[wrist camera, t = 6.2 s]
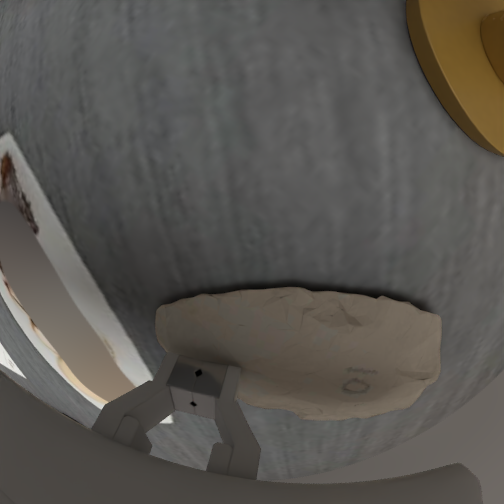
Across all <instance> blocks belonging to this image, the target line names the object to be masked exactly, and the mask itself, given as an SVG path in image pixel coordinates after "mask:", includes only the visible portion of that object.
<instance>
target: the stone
mask: <svg viewBox="0 0 504 504" xmlns="http://www.w3.org/2000/svg"><path fill="white" fill-rule="evenodd" d="M280 297H281V298H280ZM155 329H156V336H157V341H158V343H159V344H160V345H161V346H162V347H163V348H164V349H165V351H166V353H168V352H173V353H176V354H180V355H184V356H188V357H191V358H195V359H199V360H203V361H204V360H205V361H210V362H215V363H220V364H226V365H229V366H235V367H241V368H242V370H241V378H240V385H239V391H238V397H237V398H239V399H241V400H242V401H244V402H245V403H246V404H248V405H252V406H256V407H260V408H264V409H285V410H290V411H293V412H294V413H295V414H296V415H297V416H298V417H299V418H300V419H303V420H336V421H340V420H345V419H348V418H354V417H356V418H369V417H373V416H376V415H380V414H384V413H386V412H389V411H393V410H401V409H402V410H403V409H405V408H409V407H410V406H411V405H412V404H413V403H414V402H415V401H416V400H417V399H418V398H419V396H420V395H421V394H422V392H423V391H424V390H425V388H426V387H427V386H428V385H430V384H432V383H433V382H435V381H437V378H438V376H439V374H440V372H441V368H440V364H441V360H440V345H441V335H442V327H441V318H440V317H439V315H436V314H432V313H429V312H426V311H421V310H419V309H418V308H416V307H415V306H413V305H412V304H411V303H410V302H409V301H408V302H403V301H396V300H392V299H390V298H388V297H385V296H383V295H382V296H380V297H379V298H377V299H375V298H372V297H369V296H365V295H359V294H349V293H340V292H334V291H309V290H307V289H304V288H301V287H282V288H272V289H262V290H248V289H240V290H238V291H233V292H228V293H223V294H200V295H197V296H195V297H193V298H186V299H180V300H178V301H176V302H174V303H171V304H163V305H161V306H160V307H159V308H158V309H157V310H156V318H155Z"/></svg>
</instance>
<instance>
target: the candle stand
mask: <svg viewBox="0 0 504 504" xmlns="http://www.w3.org/2000/svg"><path fill="white" fill-rule="evenodd" d="M406 17H407V25H408V30H409V34H410V38H411V41H412V44H413V48H414V51H415V53H416V56H417V58H418V61H419V63H420V66H421V68H422V70H423V72H424V74H425V76H426V78H427V80H428V82H429V84H430V85H431V87H432V89H433V91H434V93H435V94H436V96H437V97H438V99H439V100H440V102H441V104H442V105H443V107H444V108H445V109H446V111H447V112H448V113H449V115H450V116H451V118H452V119H453V120H454V121H455V122H456V123H457V125H458V126H459V127H460V128H461V129H462V130H463V131H464V132H465V133H466V134H467V135H468V136H469V137H470V138H471V139H472V140H473V141H475V142H476V143H477V144H478V145H479V146H481V147H483V148H484V149H486V150H487V151H489V152H492V153H494V154H496V155H499V156H502V157H504V0H406Z"/></svg>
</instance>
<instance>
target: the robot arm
mask: <svg viewBox="0 0 504 504" xmlns="http://www.w3.org/2000/svg"><path fill="white" fill-rule="evenodd" d="M241 370H242V368H241V367H235V366H229V365H226V364H220V363H215V362H210V361H205V360H204V361H203V360H199V359H195V358H191V357H188V356H184V355H180V354H176V353H173V352H168V353H167V354H166V355H165V357H164V359H163V361H162V363H161V365H160V367H159V369H158V371H157V373H156V375H155V377H154V379H153V381H150V380H149V381H147V382H145V383H144V384H142V385H140V386H138V387H137V388H135V389H133V390H131V391H130V392H128V393H126V394H124V395H122V396H120V397H119V398H117V399H115V400H113V401H111V402H109V403H107V404H105V405H104V407H103V409H102V411H101V413H100V414H99V416H98V418H97V420H96V422H95V423H94V425H93V427H92V429H89V428H87V427H85V426H83V425H82V424H80V423H78V422H76V421H74V420H72V419H71V418H69V417H67V416H66V415H64V414H62V413H61V412H59V411H57V410H56V409H54V408H52V407H51V406H49V405H48V404H46V403H45V402H43V401H42V400H40V399H39V398H37V397H36V396H34V395H33V394H32V393H30V392H29V391H27V390H26V389H25V388H23V387H22V386H21V385H19V384H18V383H17V382H15V381H14V380H13V379H12V378H10V377H9V376H8V375H7V374H6V373H4V372H3V371H2V370H1V369H0V504H483V501H482V491H481V485H480V482H479V480H478V478H477V477H476V476H475V475H474V474H473V473H472V472H471V471H470V470H469V469H468V468H467V467H465V466H464V465H463V464H461V463H453V464H450V465H446V466H443V467H439V468H435V469H432V470H428V471H424V472H419V473H415V474H410V475H405V476H400V477H394V478H387V479H381V480H373V481H365V482H364V481H363V482H352V483H333V484H302V483H282V482H271V481H261V480H256V478H257V472H258V465H259V459H260V452H261V448H260V446H259V444H258V442H257V440H256V438H255V437H254V435H253V433H252V431H251V429H250V427H249V425H248V423H247V421H246V419H245V417H244V415H243V412H242V410H241V408H240V406H239V404H238V402H236V401H237V397H238V391H239V385H240V378H241ZM175 410H178V411H182V412H186V413H190V414H195V415H198V416H202V417H206V418H210V419H214V420H215V422H216V425H217V428H218V430H219V433H220V436H221V438H222V441H223V443H219V442H217V443H215V444H214V445H213V448H212V452H211V455H210V459H209V462H208V466H207V469H206V471H204V470H199V469H195V468H192V467H188V466H184V465H180V464H177V463H174V462H170V461H167V460H164V459H161V458H158V457H155V456H152V455H149V453H150V451H151V448H152V444H151V442H150V441H149V439H148V437H147V435H146V434H145V433H146V432H147V431H149V430H150V429H152V428H153V427H154V426H156V425H157V424H158V423H160V422H161V421H162V420H164V419H165V418H166V417H167V416H169V415H170V414H171V413H173V412H174V411H175Z"/></svg>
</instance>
